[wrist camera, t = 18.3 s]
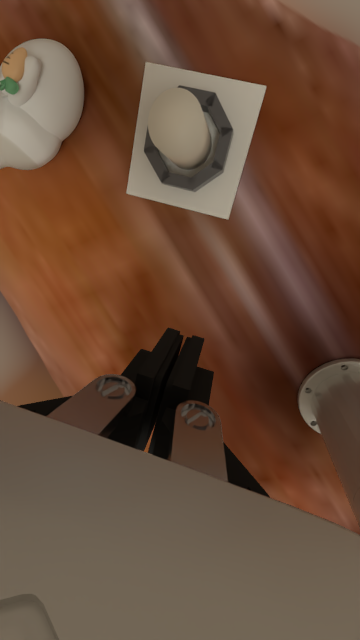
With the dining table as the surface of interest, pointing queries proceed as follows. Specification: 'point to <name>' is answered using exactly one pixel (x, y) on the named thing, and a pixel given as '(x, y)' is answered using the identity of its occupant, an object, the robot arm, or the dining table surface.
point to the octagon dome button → (226, 132)
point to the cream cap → (180, 128)
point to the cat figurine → (38, 102)
